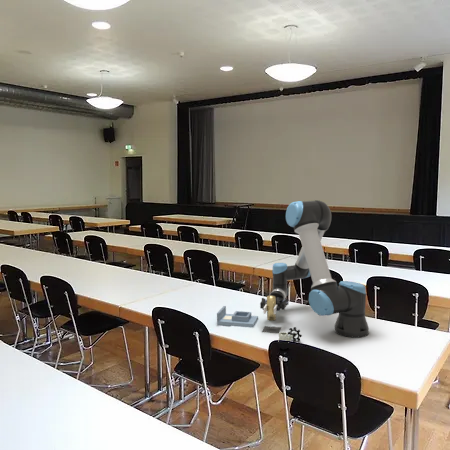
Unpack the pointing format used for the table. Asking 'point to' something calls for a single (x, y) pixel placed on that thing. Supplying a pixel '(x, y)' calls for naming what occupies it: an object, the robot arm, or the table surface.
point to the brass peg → (271, 307)
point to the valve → (288, 337)
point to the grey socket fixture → (236, 318)
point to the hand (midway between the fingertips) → (269, 311)
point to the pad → (271, 329)
